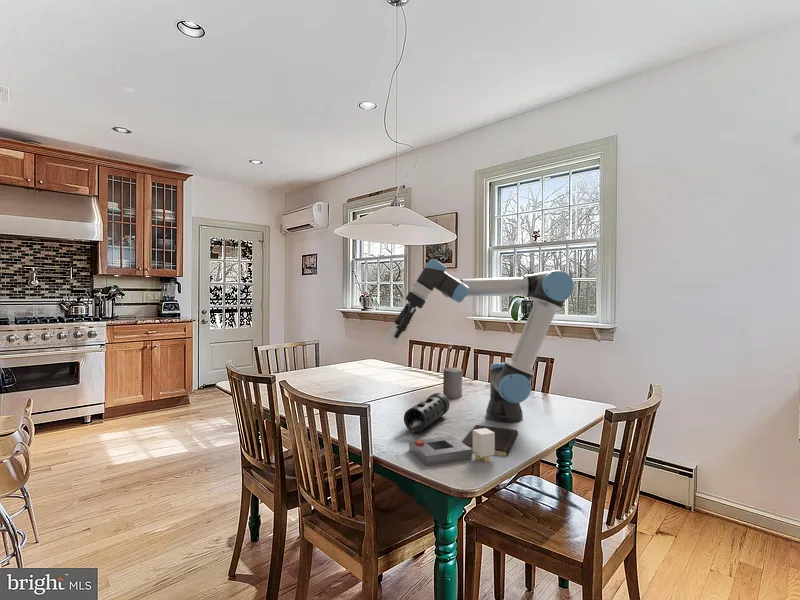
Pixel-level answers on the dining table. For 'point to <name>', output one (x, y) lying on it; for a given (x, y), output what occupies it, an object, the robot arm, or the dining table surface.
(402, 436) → the dining table surface
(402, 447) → the dining table surface
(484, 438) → the plug
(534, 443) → the dining table surface
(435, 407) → the muzzle brake
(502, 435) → the hardcover book
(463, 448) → the socket plate
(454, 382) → the pillar candle
